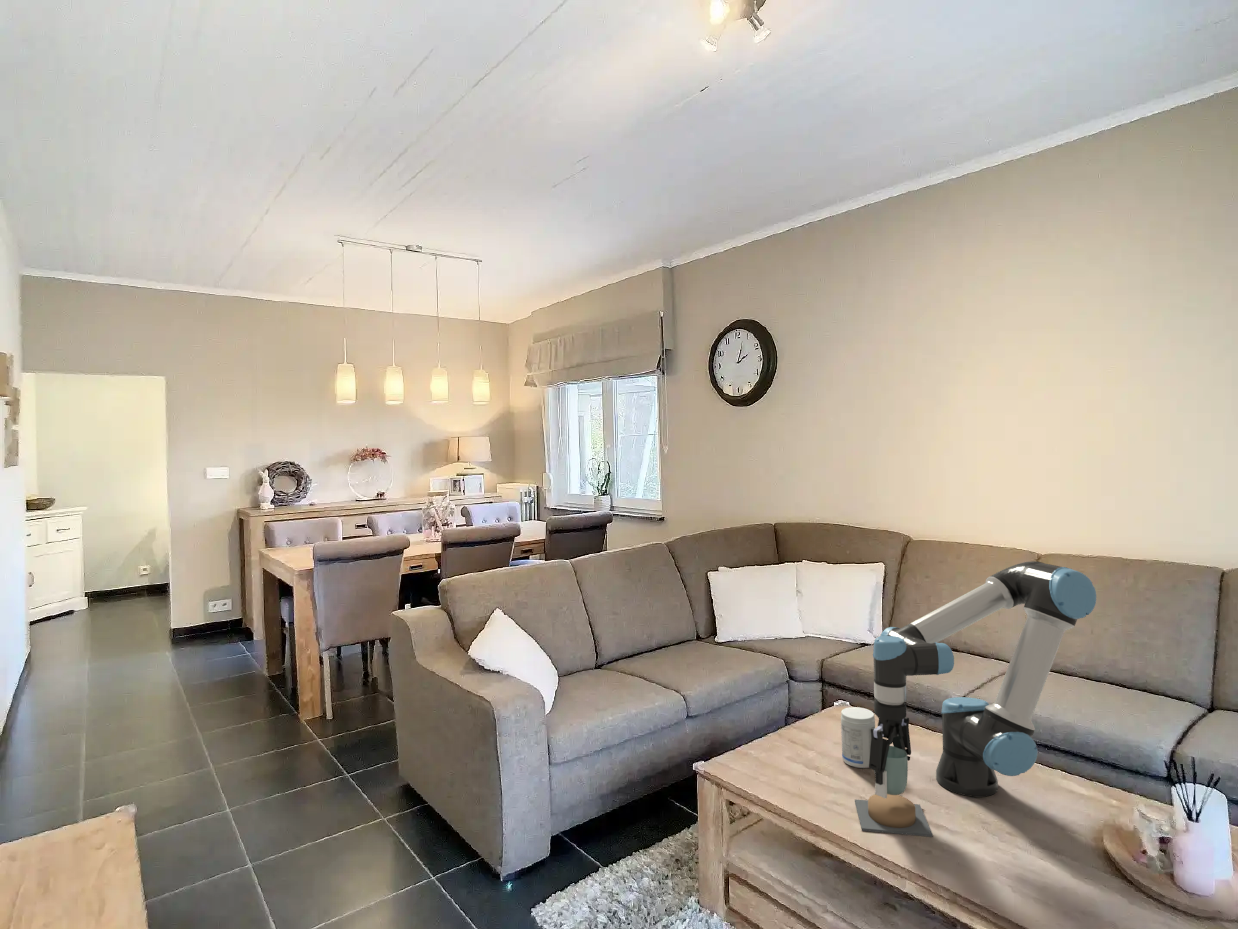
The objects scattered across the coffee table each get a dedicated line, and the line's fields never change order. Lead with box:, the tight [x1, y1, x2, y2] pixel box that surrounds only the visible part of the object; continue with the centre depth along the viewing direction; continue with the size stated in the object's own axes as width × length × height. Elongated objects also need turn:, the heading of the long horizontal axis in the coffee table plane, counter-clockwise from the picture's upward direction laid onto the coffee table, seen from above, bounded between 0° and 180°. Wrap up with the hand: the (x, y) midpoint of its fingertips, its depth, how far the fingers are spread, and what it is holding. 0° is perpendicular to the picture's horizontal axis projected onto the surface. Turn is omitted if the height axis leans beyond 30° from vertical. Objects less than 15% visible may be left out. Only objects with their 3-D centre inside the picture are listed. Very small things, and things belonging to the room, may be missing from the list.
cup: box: [873, 745, 909, 796], centre depth 172 cm, size 8×8×10 cm
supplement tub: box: [840, 706, 876, 769], centre depth 204 cm, size 10×10×15 cm
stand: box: [854, 794, 934, 838], centre depth 173 cm, size 16×14×4 cm
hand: (890, 790), depth 172 cm, fingers closed on cup, 8 cm apart
